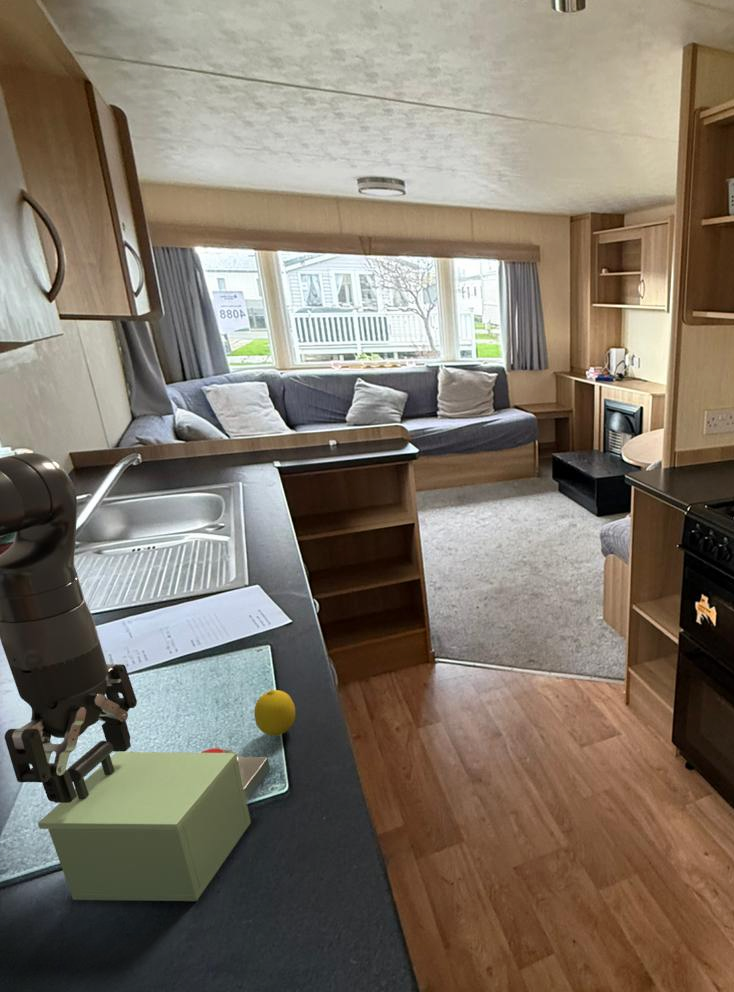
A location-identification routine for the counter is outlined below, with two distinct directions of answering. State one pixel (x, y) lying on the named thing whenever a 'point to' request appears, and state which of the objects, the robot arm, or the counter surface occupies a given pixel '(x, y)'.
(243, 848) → the counter surface
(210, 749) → the button
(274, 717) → the lemon
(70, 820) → the lid
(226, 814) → the green lidded box
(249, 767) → the switch block
